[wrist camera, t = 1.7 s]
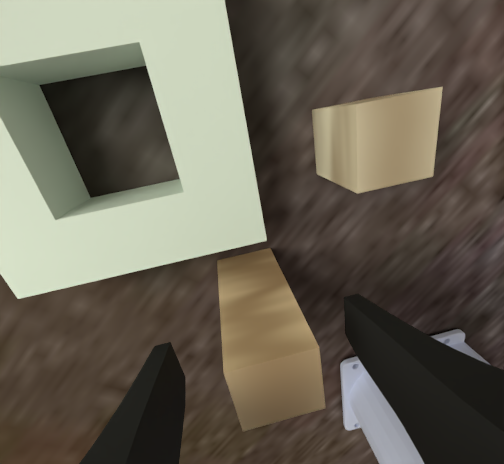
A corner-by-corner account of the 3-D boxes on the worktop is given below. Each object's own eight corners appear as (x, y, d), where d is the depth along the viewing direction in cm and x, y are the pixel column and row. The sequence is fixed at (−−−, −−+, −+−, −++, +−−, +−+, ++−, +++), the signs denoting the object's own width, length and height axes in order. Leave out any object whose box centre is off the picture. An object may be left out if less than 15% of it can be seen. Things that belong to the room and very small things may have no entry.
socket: (207, -37, 9) (206, -102, 7) (255, 217, 13) (266, 240, 11) (-84, 10, 9) (-217, -42, 6) (58, 261, 13) (18, 299, 10)
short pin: (372, 97, 12) (442, 86, 9) (372, 161, 13) (433, 176, 10) (311, 110, 12) (356, 104, 8) (316, 174, 13) (357, 193, 10)
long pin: (270, 247, 14) (319, 347, 8) (277, 291, 16) (325, 407, 9) (217, 260, 14) (223, 373, 8) (228, 303, 15) (243, 431, 9)
